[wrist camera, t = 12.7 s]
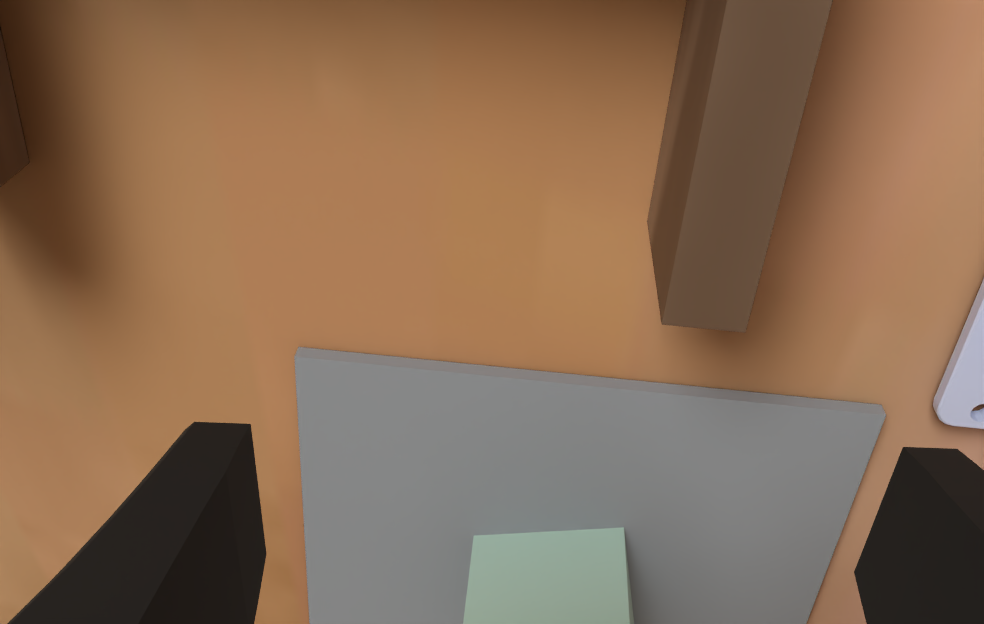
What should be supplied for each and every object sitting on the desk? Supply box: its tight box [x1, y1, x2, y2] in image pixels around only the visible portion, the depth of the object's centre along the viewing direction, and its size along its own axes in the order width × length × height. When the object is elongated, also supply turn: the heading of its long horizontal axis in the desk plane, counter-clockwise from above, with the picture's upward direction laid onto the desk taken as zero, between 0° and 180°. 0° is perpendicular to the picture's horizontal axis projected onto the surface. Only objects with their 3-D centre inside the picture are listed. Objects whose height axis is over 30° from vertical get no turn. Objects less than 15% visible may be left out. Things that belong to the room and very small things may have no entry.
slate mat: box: [295, 347, 886, 624], centre depth 26 cm, size 14×14×1 cm
